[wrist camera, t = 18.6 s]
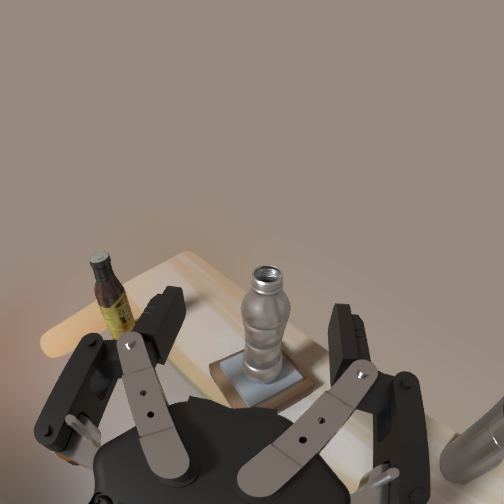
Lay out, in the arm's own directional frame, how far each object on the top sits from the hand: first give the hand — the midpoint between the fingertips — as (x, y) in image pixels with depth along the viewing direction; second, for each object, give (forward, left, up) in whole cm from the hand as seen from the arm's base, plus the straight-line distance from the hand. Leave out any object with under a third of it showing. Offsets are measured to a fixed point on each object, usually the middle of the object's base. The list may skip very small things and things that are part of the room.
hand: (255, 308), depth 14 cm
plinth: (+13, -10, -34) cm, 38 cm away
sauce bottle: (+37, +9, -34) cm, 51 cm away
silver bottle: (+12, -10, -29) cm, 33 cm away
